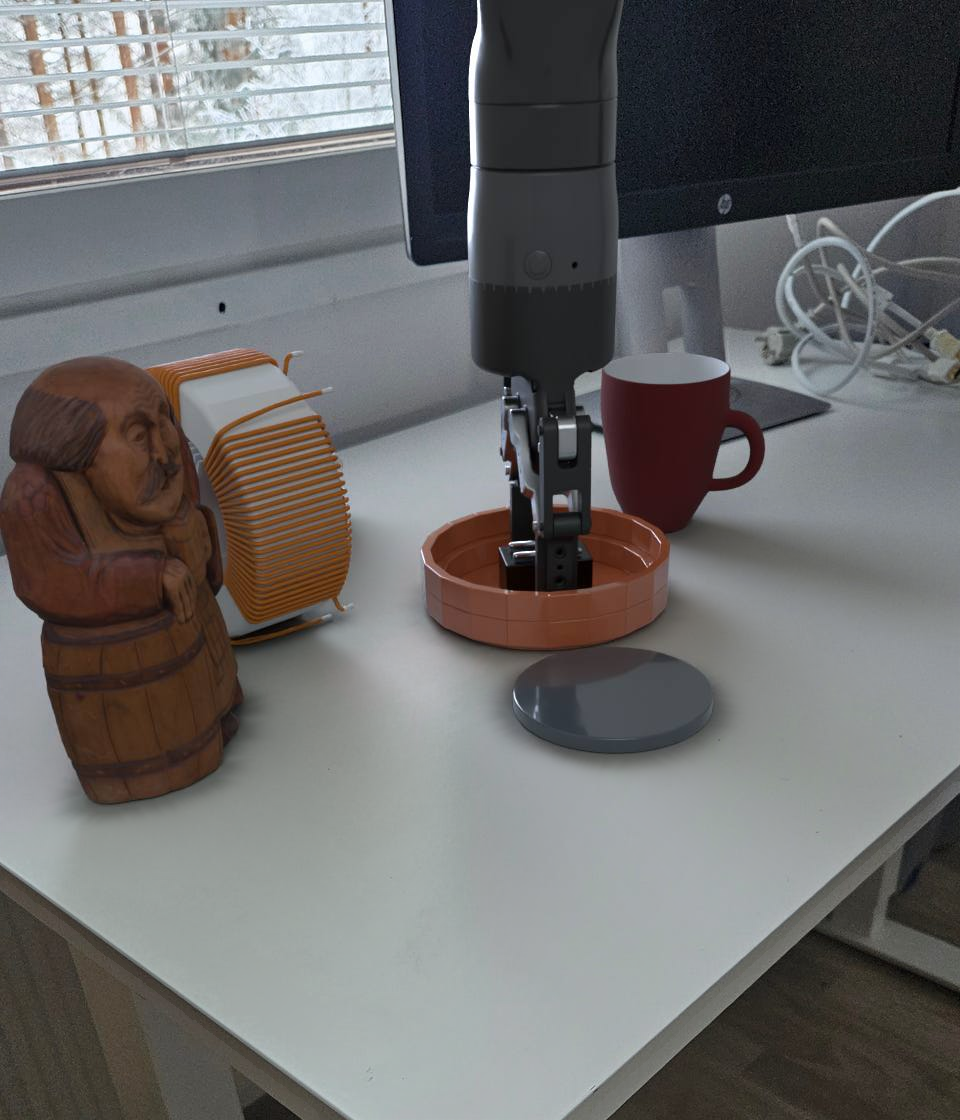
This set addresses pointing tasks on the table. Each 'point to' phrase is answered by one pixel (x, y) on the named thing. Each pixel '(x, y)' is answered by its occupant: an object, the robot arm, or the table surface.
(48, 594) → the wooden figurine
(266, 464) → the coil
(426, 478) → the table surface
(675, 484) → the mug
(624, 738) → the plate
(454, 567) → the bowl
